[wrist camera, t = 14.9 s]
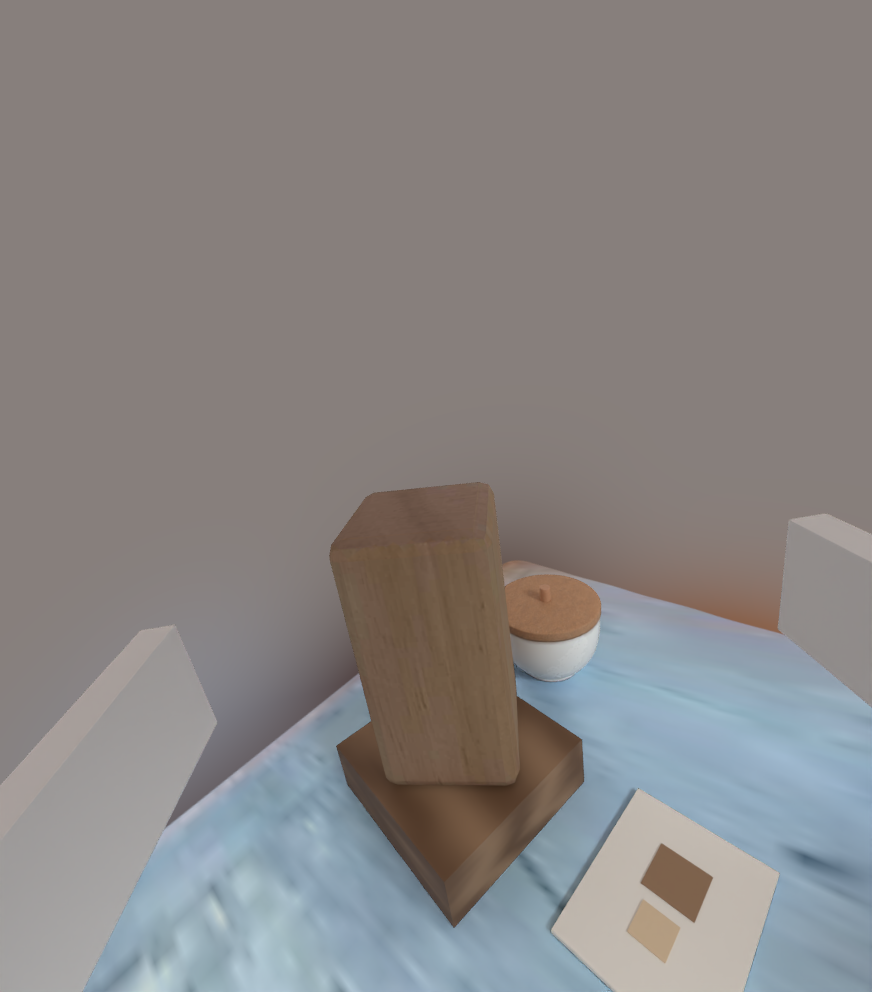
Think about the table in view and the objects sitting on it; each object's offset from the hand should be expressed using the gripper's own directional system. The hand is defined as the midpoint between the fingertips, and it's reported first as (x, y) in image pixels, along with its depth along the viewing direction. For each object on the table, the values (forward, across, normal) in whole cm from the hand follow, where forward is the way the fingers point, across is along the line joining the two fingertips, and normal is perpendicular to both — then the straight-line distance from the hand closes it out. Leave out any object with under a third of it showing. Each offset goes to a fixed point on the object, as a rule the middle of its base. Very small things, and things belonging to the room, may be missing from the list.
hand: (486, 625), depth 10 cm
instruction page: (+10, +9, -30) cm, 32 cm away
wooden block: (+20, -3, -25) cm, 33 cm away
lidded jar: (+32, +8, -30) cm, 45 cm away
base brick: (+20, -3, -30) cm, 36 cm away
